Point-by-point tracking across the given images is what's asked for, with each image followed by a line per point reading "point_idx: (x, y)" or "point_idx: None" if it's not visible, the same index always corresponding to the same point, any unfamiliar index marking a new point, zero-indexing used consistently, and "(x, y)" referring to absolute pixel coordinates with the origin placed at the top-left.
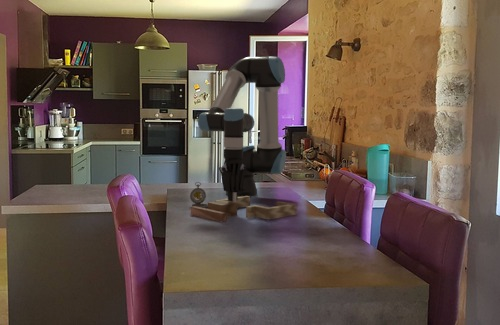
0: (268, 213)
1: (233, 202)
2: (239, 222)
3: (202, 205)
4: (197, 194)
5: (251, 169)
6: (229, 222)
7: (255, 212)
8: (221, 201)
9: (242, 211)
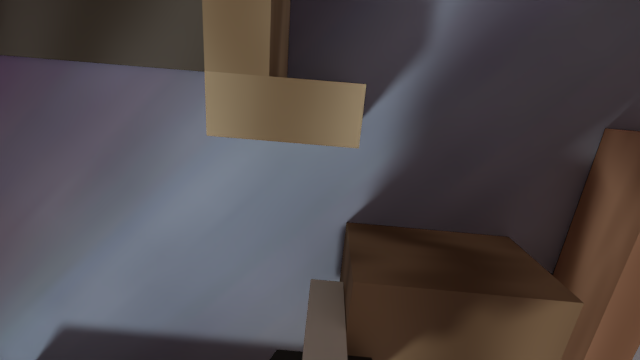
0: None
1: (356, 324)
2: (586, 6)
3: None
4: None
5: None
6: (634, 73)
7: (282, 73)
8: None
9: (207, 284)
